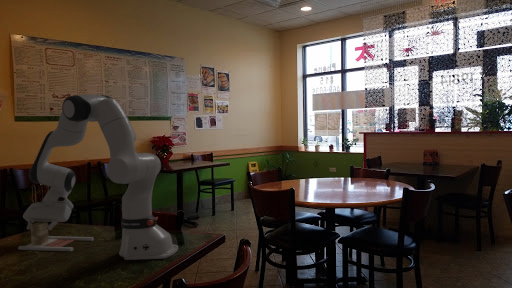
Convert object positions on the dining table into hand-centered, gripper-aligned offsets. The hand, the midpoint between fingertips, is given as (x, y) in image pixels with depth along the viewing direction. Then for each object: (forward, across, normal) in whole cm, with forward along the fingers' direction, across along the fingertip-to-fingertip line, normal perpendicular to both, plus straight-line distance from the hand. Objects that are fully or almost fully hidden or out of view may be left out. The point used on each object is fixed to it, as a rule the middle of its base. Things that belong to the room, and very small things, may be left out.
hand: (38, 229), depth 155 cm
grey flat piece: (+4, +8, +5) cm, 11 cm away
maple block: (+4, 0, +5) cm, 6 cm away
